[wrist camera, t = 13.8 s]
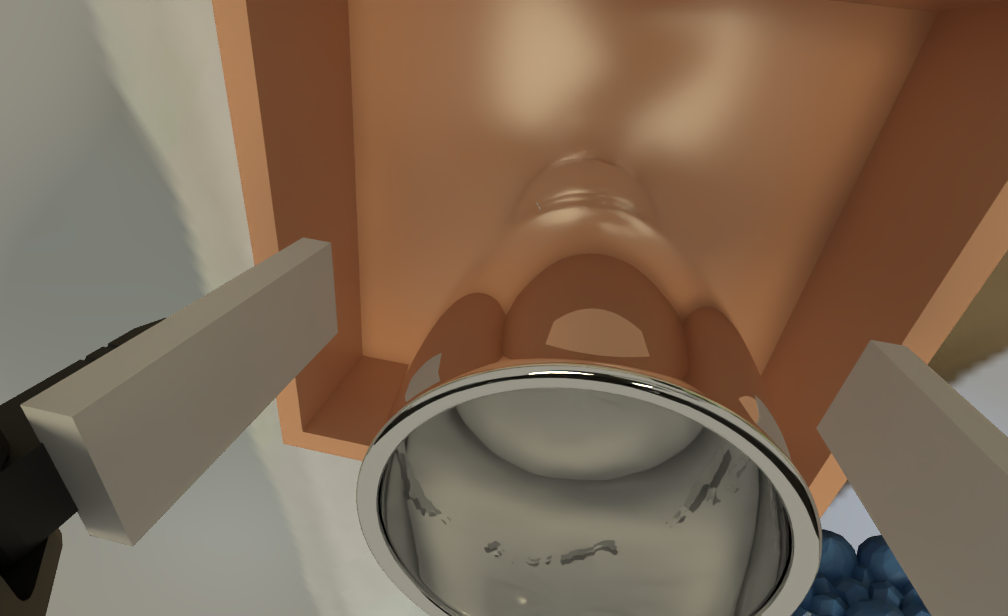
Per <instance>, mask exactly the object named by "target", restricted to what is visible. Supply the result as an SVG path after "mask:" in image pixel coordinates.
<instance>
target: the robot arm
mask: <svg viewBox="0 0 1008 616" xmlns="http://www.w3.org/2000/svg"><path fill="white" fill-rule="evenodd" d="M337 333H338V327H337V314H336V301H335V288H334V275H333V262H332V249H331V242H326V241H320V240H315V239H309V238H301V239H300V240H298V241H296V242H295V243H293V244H291V245H290V246H288V247H286V248H284V249H283V250H281V251H279V252H278V253H276V254H274V255H273V256H271V257H269V258H268V259H266V260H264V261H262V262H261V263H259V264H257V265H256V266H254V267H252V268H251V269H249V270H247V271H246V272H244V273H242V274H240V275H239V276H237V277H235V278H234V279H232V280H230V281H229V282H227V283H225V284H224V285H222V286H220V287H219V288H217V289H215V290H213V291H212V292H210V293H208V294H207V295H205V296H203V297H202V298H200V299H198V300H197V301H195V302H193V303H191V304H190V305H188V306H186V307H185V308H183V309H182V310H180V311H178V312H176V313H175V314H173V315H171V316H170V317H168V318H163V319H161V320H158V321H155V322H152V323H149V324H146V325H143V326H140V327H137V328H135V329H133V330H131V331H129V332H128V333H126V334H124V335H122V336H121V337H119V338H117V339H115V340H114V341H112V342H110V343H108V346H107V347H101V348H100V349H98V350H96V351H94V352H93V353H91V354H89V355H87V356H86V359H85V360H79V361H77V362H75V363H73V364H72V365H70V366H68V367H67V368H65V369H63V370H61V371H60V372H58V373H56V374H54V375H53V376H51V377H49V378H47V379H46V380H44V381H42V382H40V383H38V384H37V385H35V386H33V387H32V388H30V389H28V390H26V391H24V392H23V393H21V394H19V395H17V396H16V397H14V398H13V399H11V400H9V401H7V402H6V403H4V404H2V405H0V616H45V615H46V611H47V607H48V603H49V599H50V595H51V591H52V586H53V582H54V578H55V574H56V570H57V566H58V562H59V558H60V554H61V549H62V533H61V532H60V530H59V527H60V526H61V525H62V524H63V523H64V522H66V521H67V520H68V519H69V518H70V517H71V516H72V515H74V514H75V513H76V512H78V514H79V516H80V518H81V520H82V521H83V523H84V525H85V527H86V529H87V531H88V533H89V535H90V536H94V537H98V538H102V539H105V540H109V541H113V542H117V543H121V544H125V545H129V546H134V545H135V544H136V543H137V542H138V541H139V540H140V539H141V538H142V537H143V535H144V534H145V533H146V532H147V531H148V530H149V529H150V528H151V527H152V526H153V525H154V524H155V523H156V522H157V521H158V520H159V519H160V518H161V517H162V516H163V515H164V514H165V513H166V511H167V510H168V509H169V508H170V507H171V506H172V505H173V504H174V503H175V502H176V501H177V500H178V499H179V498H180V497H181V496H182V495H183V494H184V493H185V492H186V491H187V490H188V488H189V487H190V486H191V485H192V484H193V483H194V482H195V481H196V480H197V479H198V478H199V477H200V476H201V475H202V474H203V473H204V472H205V471H206V470H207V469H208V468H209V467H210V465H211V464H212V463H213V462H214V461H215V460H216V459H217V458H218V457H219V456H220V455H221V454H222V453H223V452H224V451H225V450H226V449H227V448H228V447H229V446H230V445H231V444H232V443H233V442H234V441H235V440H236V438H237V437H238V436H239V435H240V434H241V433H242V432H243V431H244V430H245V429H246V428H247V427H248V426H249V425H250V424H251V423H252V422H253V421H254V420H255V419H256V418H257V417H258V415H259V414H260V413H261V412H262V411H263V410H264V409H265V408H266V407H267V406H268V405H269V404H270V403H271V402H272V401H273V400H274V399H275V398H276V397H277V396H278V395H279V394H280V393H281V391H282V390H283V389H284V388H285V387H286V386H287V385H288V384H289V383H290V382H291V381H292V380H293V379H294V378H295V377H296V376H297V375H298V374H299V373H300V372H301V371H302V370H303V369H304V367H305V366H306V365H307V364H308V363H309V362H310V361H311V360H312V359H313V358H314V357H315V356H316V355H317V354H318V353H319V352H320V351H321V350H322V349H323V348H324V347H325V346H326V344H327V343H328V342H329V341H330V340H331V339H332V338H333V337H334V336H335V335H336V334H337ZM816 429H817V430H818V432H819V434H820V435H821V437H822V438H823V440H824V442H825V443H826V445H827V447H828V448H829V450H830V452H831V453H832V455H833V456H834V458H835V460H836V461H837V463H838V465H839V466H840V468H841V469H842V471H843V473H844V474H845V476H846V478H847V479H848V481H849V482H850V484H851V486H852V487H853V489H854V491H855V492H856V494H857V496H858V497H859V499H860V500H861V502H862V504H863V505H864V507H865V508H866V510H867V512H868V513H869V515H870V517H871V518H872V520H873V522H874V523H875V525H876V526H877V528H878V530H879V531H880V533H881V535H882V536H883V538H884V540H885V541H886V543H887V544H888V546H889V548H890V549H891V551H892V553H893V554H894V556H895V557H896V559H897V561H898V562H899V564H900V566H901V567H902V569H903V570H904V572H905V574H906V575H907V577H908V579H909V580H910V582H911V584H912V585H913V587H914V588H915V590H916V592H917V593H918V595H919V597H920V598H921V600H922V601H923V603H924V605H925V606H926V608H927V610H928V611H929V613H930V614H931V616H1008V437H1007V436H1006V435H1005V434H1004V433H1002V432H1001V431H1000V430H999V429H998V428H997V427H996V426H995V425H994V424H992V423H991V422H990V421H989V420H988V419H987V418H986V417H985V416H983V415H982V414H981V413H980V412H979V411H978V410H977V409H976V408H974V407H973V406H972V405H971V404H970V403H969V402H968V401H967V400H966V399H964V398H963V397H962V396H961V395H960V394H959V393H958V392H957V391H956V390H955V389H953V388H952V387H951V386H950V385H949V384H948V383H947V382H946V381H944V380H943V379H942V378H941V377H940V376H939V375H938V374H937V373H936V372H934V371H933V370H932V369H931V368H930V367H929V366H928V365H927V364H926V363H924V362H923V361H922V360H921V359H920V358H919V357H918V356H917V355H916V354H914V353H913V352H912V351H911V350H910V349H909V348H908V347H907V346H903V345H897V344H892V343H886V342H881V341H875V340H870V342H869V343H868V345H867V346H866V348H865V350H864V351H863V353H862V355H861V356H860V358H859V359H858V361H857V363H856V364H855V366H854V368H853V369H852V371H851V372H850V374H849V376H848V377H847V379H846V381H845V382H844V384H843V385H842V387H841V389H840V390H839V392H838V394H837V395H836V397H835V399H834V400H833V402H832V403H831V405H830V407H829V408H828V410H827V412H826V413H825V415H824V416H823V418H822V420H821V421H820V423H819V425H818V426H817V428H816Z"/></svg>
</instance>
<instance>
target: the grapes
mask: <svg viewBox="0 0 1008 616" xmlns="http://www.w3.org/2000/svg"><path fill="white" fill-rule="evenodd" d="M792 616H931V614H930V613H929V611H928V610H927V608H926V606H925V605H924V603H923V601H922V600H921V598H920V597H919V595H918V593H917V592H916V590H915V588H914V587H913V585H912V584H911V582H910V580H909V579H908V577H907V575H906V574H905V572H904V570H903V569H902V567H901V566H900V564H899V562H898V561H897V559H896V557H895V556H894V554H893V553H892V551H891V549H890V548H889V546H888V544H887V543H886V541H885V540H884V538H883V536H882V535H879V536H873V537H870V538H867V539H866V540H865V541H864V542H863V543H862V544H860V545H859V547H858V551H857V556H856V553H855V550H854V549H853V547H852V546H851V545H850V544H849V543H848V542H847V541H846V540H845V539H844V538H843V537H842V536H841V535H839V534H836V533H834V532H831V531H828V530H824V529H823V530H822V556H821V562H820V565H819V569H818V573H817V576H816V579H815V581H814V583H813V586H812V588H811V590H810V591H809V593H808V595H807V597H806V598H805V600H804V601H803V603H802V604H801V605H800V607H799V608H798V609H797V610H796V612H795V613H794V614H793V615H792Z"/></svg>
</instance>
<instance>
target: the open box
mask: <svg viewBox="0 0 1008 616" xmlns="http://www.w3.org/2000/svg"><path fill="white" fill-rule="evenodd" d="M212 4H213V10H214V17H215V23H216V29H217V35H218V41H219V48H220V54H221V60H222V66H223V72H224V79H225V85H226V91H227V97H228V103H229V109H230V116H231V122H232V128H233V134H234V140H235V147H236V153H237V159H238V165H239V171H240V178H241V184H242V190H243V196H244V202H245V208H246V215H247V221H248V227H249V233H250V239H251V246H252V252H253V258H254V264H255V266H256V265H257V264H259V263H261V262H262V261H264V260H266V259H268V258H269V257H271V256H273V255H274V254H276V253H278V252H279V251H281V250H283V249H284V248H286V247H288V246H290V245H291V244H293V243H295V242H296V241H298V240H300V239H301V238H309V239H315V240H320V241H326V242H331V249H332V262H333V275H334V288H335V301H336V314H337V327H338V333H337V334H336V335H335V336H334V337H333V338H332V339H331V340H330V341H329V342H328V343H327V344H326V346H325V347H324V348H323V349H322V350H321V351H320V352H319V353H318V354H317V355H316V356H315V357H314V358H313V359H312V360H311V361H310V362H309V363H308V364H307V365H306V366H305V367H304V369H303V370H302V371H301V372H300V373H299V374H298V375H297V376H296V377H295V378H294V379H293V380H292V381H291V382H290V383H289V384H288V385H287V386H286V387H285V388H284V389H283V390H282V391H281V393H280V394H279V395H278V396H277V397H276V400H277V406H278V413H279V419H280V425H281V431H282V437H283V444H287V445H292V446H296V447H301V448H305V449H310V450H314V451H319V452H324V453H328V454H333V455H337V456H342V457H346V458H351V459H355V460H360V461H363V459H364V456H365V454H366V451H367V450H368V448H369V446H370V444H371V442H372V441H373V439H374V438H375V436H376V435H377V434H378V432H379V431H380V429H381V427H382V424H383V422H384V420H385V418H386V416H387V414H388V412H389V409H390V407H391V405H392V403H393V400H394V398H395V396H396V393H397V391H398V389H399V386H400V384H401V382H402V379H403V377H404V375H405V373H406V371H407V369H408V367H409V364H410V362H411V360H412V358H413V356H414V354H415V352H416V349H417V347H418V345H419V343H420V341H421V339H422V337H423V335H424V334H425V332H426V330H427V328H428V326H429V325H430V323H431V321H432V319H433V317H434V316H435V314H436V312H437V310H438V308H439V307H440V305H441V303H442V302H443V300H444V298H445V297H446V295H447V294H448V293H449V291H450V290H451V288H452V287H453V286H454V284H455V283H456V282H457V280H458V279H459V277H460V276H461V275H462V273H463V272H464V271H465V269H466V268H467V267H468V265H469V264H470V263H471V262H472V261H473V260H474V259H475V258H476V257H477V256H478V255H479V254H480V253H481V252H482V251H483V250H484V249H485V248H486V247H487V246H488V245H489V244H491V243H492V242H493V241H494V240H495V239H496V238H497V237H498V236H499V235H501V234H502V233H503V232H505V231H506V230H507V229H509V228H510V227H512V225H513V219H514V215H515V211H516V208H517V205H518V203H519V201H520V199H521V197H522V195H523V194H524V192H525V191H526V189H527V188H528V187H529V186H530V184H531V183H532V182H533V181H534V180H535V179H537V178H538V177H539V176H540V175H541V174H543V173H544V172H546V171H547V170H549V169H551V168H553V167H555V166H557V165H560V164H563V163H566V162H570V161H576V160H597V161H602V162H606V163H610V164H613V165H615V166H617V167H619V168H621V169H623V170H625V171H626V172H628V173H629V174H631V175H632V176H633V177H634V178H635V179H636V180H637V181H638V182H639V183H640V184H641V185H642V186H643V188H644V189H645V190H646V192H647V194H648V195H649V197H650V199H651V202H652V204H653V207H654V211H655V215H656V221H657V229H659V230H660V231H662V232H663V233H664V234H666V235H667V236H668V237H669V238H670V239H671V240H673V241H674V242H675V243H676V244H677V245H678V246H679V247H680V248H681V249H682V250H683V251H684V252H685V253H686V254H687V255H688V256H689V257H690V258H691V259H692V260H693V261H694V262H695V263H696V264H697V265H698V266H699V268H700V269H701V270H702V271H703V273H704V274H705V275H706V277H707V278H708V280H709V281H710V283H711V284H712V286H713V287H714V289H715V290H716V292H717V293H718V295H719V296H720V298H721V299H722V301H723V302H724V304H725V305H726V307H727V308H728V310H729V312H730V313H731V315H732V317H733V319H734V321H735V323H736V325H737V327H738V329H739V331H740V333H741V335H742V337H743V339H744V341H745V343H746V345H747V347H748V349H749V351H750V353H751V355H752V357H753V359H754V362H755V364H756V366H757V369H758V371H759V374H760V376H761V379H762V381H763V383H764V386H765V388H766V391H767V393H768V396H769V398H770V400H771V403H772V405H773V408H774V411H775V413H776V416H777V419H778V421H779V424H780V427H781V429H782V432H783V435H784V437H785V440H786V443H787V445H788V448H789V450H790V453H791V455H792V457H793V460H794V462H795V465H796V467H797V469H798V471H799V473H800V474H801V476H802V477H803V479H804V481H805V482H806V484H807V486H808V488H809V490H810V492H811V494H812V496H813V499H814V501H815V504H816V507H817V510H818V514H819V518H821V516H822V515H823V513H824V512H825V511H826V509H827V508H828V506H829V505H830V503H831V502H832V501H833V499H834V498H835V496H836V495H837V493H838V492H839V491H840V489H841V488H842V486H843V485H844V483H845V482H846V481H847V478H846V476H845V474H844V473H843V471H842V469H841V468H840V466H839V465H838V463H837V461H836V460H835V458H834V456H833V455H832V453H831V452H830V450H829V448H828V447H827V445H826V443H825V442H824V440H823V438H822V437H821V435H820V434H819V432H818V430H817V429H816V428H817V426H818V425H819V423H820V421H821V420H822V418H823V416H824V415H825V413H826V412H827V410H828V408H829V407H830V405H831V403H832V402H833V400H834V399H835V397H836V395H837V394H838V392H839V390H840V389H841V387H842V385H843V384H844V382H845V381H846V379H847V377H848V376H849V374H850V372H851V371H852V369H853V368H854V366H855V364H856V363H857V361H858V359H859V358H860V356H861V355H862V353H863V351H864V350H865V348H866V346H867V345H868V343H869V342H870V340H875V341H881V342H886V343H892V344H897V345H903V346H907V347H908V348H909V349H910V350H911V351H912V352H913V353H914V354H916V355H917V356H918V357H919V358H920V359H921V360H922V361H923V362H924V363H926V364H928V363H929V362H930V360H931V359H932V357H933V356H934V354H935V353H936V352H937V350H938V349H939V347H940V346H941V344H942V343H943V341H944V340H945V339H946V337H947V336H948V334H949V333H950V331H951V330H952V329H953V327H954V326H955V324H956V323H957V321H958V320H959V319H960V317H961V316H962V314H963V313H964V311H965V310H966V309H967V307H968V306H969V304H970V303H971V301H972V300H973V298H974V297H975V296H976V294H977V293H978V291H979V290H980V288H981V287H982V286H983V284H984V283H985V281H986V280H987V278H988V277H989V276H990V274H991V273H992V271H993V270H994V268H995V267H996V266H997V264H998V263H999V261H1000V260H1001V258H1002V257H1003V255H1004V254H1005V253H1006V251H1007V250H1008V0H212Z"/></svg>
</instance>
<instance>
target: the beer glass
mask: <svg viewBox="0 0 1008 616" xmlns="http://www.w3.org/2000/svg"><path fill="white" fill-rule="evenodd" d="M356 503H357V511H358V517H359V522H360V526H361V529H362V532H363V535H364V538H365V540H366V542H367V545H368V547H369V549H370V551H371V552H372V554H373V556H374V558H375V559H376V561H377V563H378V564H379V565H380V567H381V568H382V570H383V571H384V572H385V574H386V575H387V576H388V577H389V579H390V580H391V581H392V582H393V583H394V584H395V585H396V586H397V588H398V589H399V590H400V591H401V592H402V593H404V594H405V595H406V596H407V597H408V598H409V599H410V600H411V601H412V602H413V603H415V604H416V605H417V606H418V607H420V608H421V609H422V610H424V611H425V612H426V613H428V614H429V615H430V616H792V615H793V614H794V613H795V612H796V610H797V609H798V608H799V607H800V605H801V604H802V603H803V601H804V600H805V598H806V597H807V595H808V593H809V591H810V590H811V588H812V586H813V583H814V581H815V579H816V576H817V573H818V569H819V565H820V562H821V556H822V529H821V523H820V518H819V514H818V510H817V507H816V504H815V501H814V499H813V496H812V494H811V492H810V490H809V488H808V486H807V484H806V482H805V481H804V479H803V477H802V476H801V474H800V473H799V471H798V469H797V467H796V465H795V462H794V460H793V457H792V455H791V453H790V450H789V448H788V445H787V443H786V440H785V437H784V435H783V432H782V429H781V427H780V424H779V421H778V419H777V416H776V413H775V411H774V408H773V405H772V403H771V400H770V398H769V396H768V393H767V391H766V388H765V386H764V383H763V381H762V379H761V376H760V374H759V371H758V369H757V366H756V364H755V362H754V359H753V357H752V355H751V353H750V351H749V349H748V347H747V345H746V343H745V341H744V339H743V337H742V335H741V333H740V331H739V329H738V327H737V325H736V323H735V321H734V319H733V317H732V315H731V313H730V312H729V310H728V308H727V307H726V305H725V304H724V302H723V301H722V299H721V298H720V296H719V295H718V293H717V292H716V290H715V289H714V287H713V286H712V284H711V283H710V281H709V280H708V278H707V277H706V275H705V274H704V273H703V271H702V270H701V269H700V268H699V266H698V265H697V264H696V263H695V262H694V261H693V260H692V259H691V258H690V257H689V256H688V255H687V254H686V253H685V252H684V251H683V250H682V249H681V248H680V247H679V246H678V245H677V244H676V243H675V242H674V241H673V240H671V239H670V238H669V237H668V236H667V235H666V234H664V233H663V232H662V231H660V230H659V229H657V221H656V215H655V211H654V207H653V204H652V202H651V199H650V197H649V195H648V194H647V192H646V190H645V189H644V188H643V186H642V185H641V184H640V183H639V182H638V181H637V180H636V179H635V178H634V177H633V176H632V175H631V174H629V173H628V172H626V171H625V170H623V169H621V168H619V167H617V166H615V165H613V164H610V163H606V162H602V161H597V160H576V161H570V162H566V163H563V164H560V165H557V166H555V167H553V168H551V169H549V170H547V171H546V172H544V173H543V174H541V175H540V176H539V177H538V178H537V179H535V180H534V181H533V182H532V183H531V184H530V186H529V187H528V188H527V189H526V191H525V192H524V194H523V195H522V197H521V199H520V201H519V203H518V205H517V208H516V211H515V215H514V219H513V225H512V227H510V228H509V229H507V230H506V231H505V232H503V233H502V234H501V235H499V236H498V237H497V238H496V239H495V240H494V241H493V242H492V243H491V244H489V245H488V246H487V247H486V248H485V249H484V250H483V251H482V252H481V253H480V254H479V255H478V256H477V257H476V258H475V259H474V260H473V261H472V262H471V263H470V264H469V265H468V267H467V268H466V269H465V271H464V272H463V273H462V275H461V276H460V277H459V279H458V280H457V282H456V283H455V284H454V286H453V287H452V288H451V290H450V291H449V293H448V294H447V295H446V297H445V298H444V300H443V302H442V303H441V305H440V307H439V308H438V310H437V312H436V314H435V316H434V317H433V319H432V321H431V323H430V325H429V326H428V328H427V330H426V332H425V334H424V335H423V337H422V339H421V341H420V343H419V345H418V347H417V349H416V352H415V354H414V356H413V358H412V360H411V362H410V364H409V367H408V369H407V371H406V373H405V375H404V377H403V379H402V382H401V384H400V386H399V389H398V391H397V393H396V396H395V398H394V400H393V403H392V405H391V407H390V409H389V412H388V414H387V416H386V418H385V420H384V422H383V424H382V427H381V429H380V431H379V432H378V434H377V435H376V436H375V438H374V439H373V441H372V442H371V444H370V446H369V448H368V450H367V451H366V454H365V456H364V459H363V461H362V464H361V467H360V471H359V475H358V481H357V489H356Z"/></svg>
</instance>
